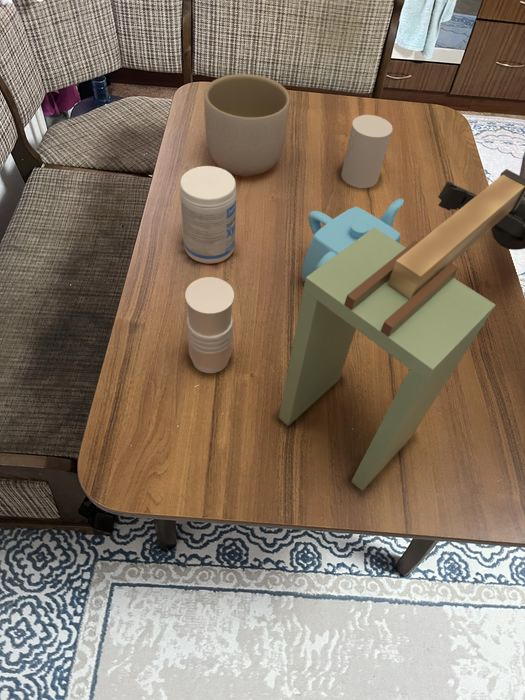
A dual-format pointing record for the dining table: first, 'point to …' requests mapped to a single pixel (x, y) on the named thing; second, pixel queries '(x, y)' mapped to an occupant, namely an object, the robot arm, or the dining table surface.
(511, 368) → the dining table surface
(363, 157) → the white cylinder
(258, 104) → the planter
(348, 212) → the teapot
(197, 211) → the supplement tub
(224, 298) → the candle
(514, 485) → the dining table surface
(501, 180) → the slide bar
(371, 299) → the shelf stand
